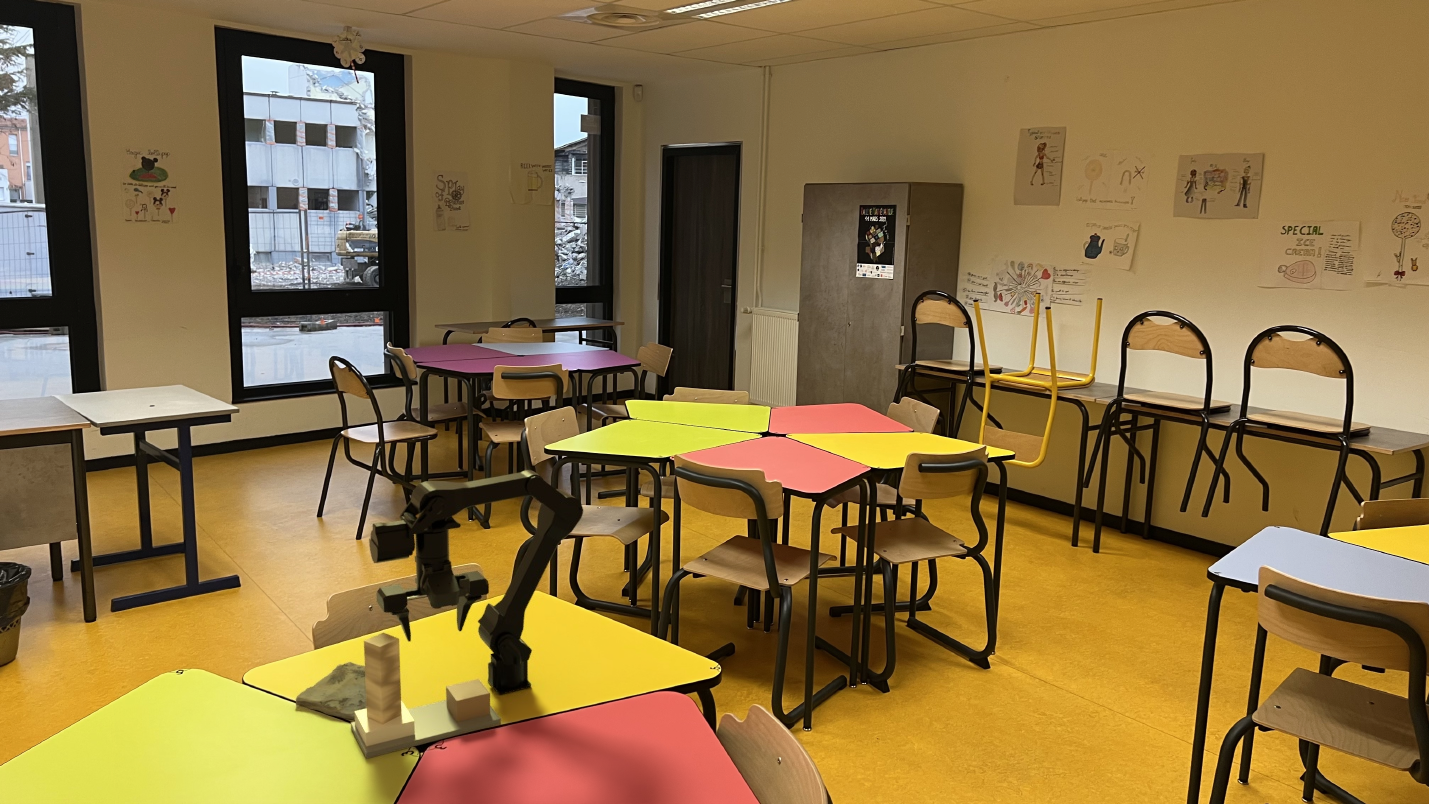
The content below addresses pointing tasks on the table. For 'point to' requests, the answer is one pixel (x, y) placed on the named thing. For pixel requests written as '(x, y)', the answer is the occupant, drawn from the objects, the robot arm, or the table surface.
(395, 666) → the beech pillar
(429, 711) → the building board
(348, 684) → the fossil rock
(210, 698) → the table surface
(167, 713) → the table surface
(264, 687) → the table surface
